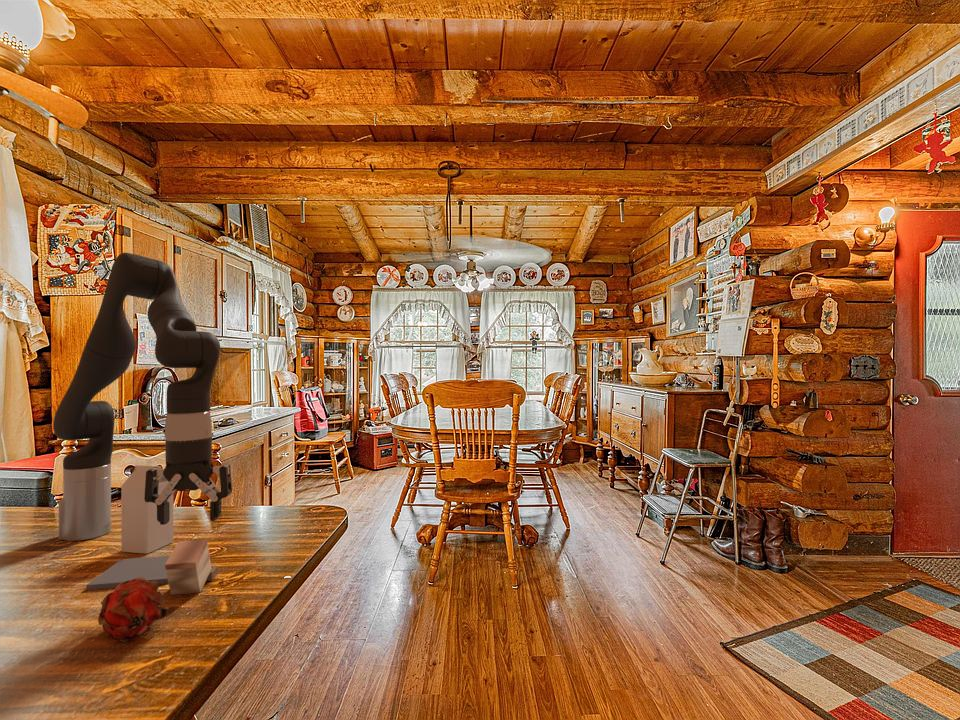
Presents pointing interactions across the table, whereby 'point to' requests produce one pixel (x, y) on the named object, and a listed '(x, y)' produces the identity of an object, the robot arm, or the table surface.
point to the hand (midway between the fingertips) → (189, 521)
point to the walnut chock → (212, 573)
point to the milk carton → (143, 515)
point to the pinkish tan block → (188, 567)
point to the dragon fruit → (131, 608)
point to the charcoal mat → (132, 572)
